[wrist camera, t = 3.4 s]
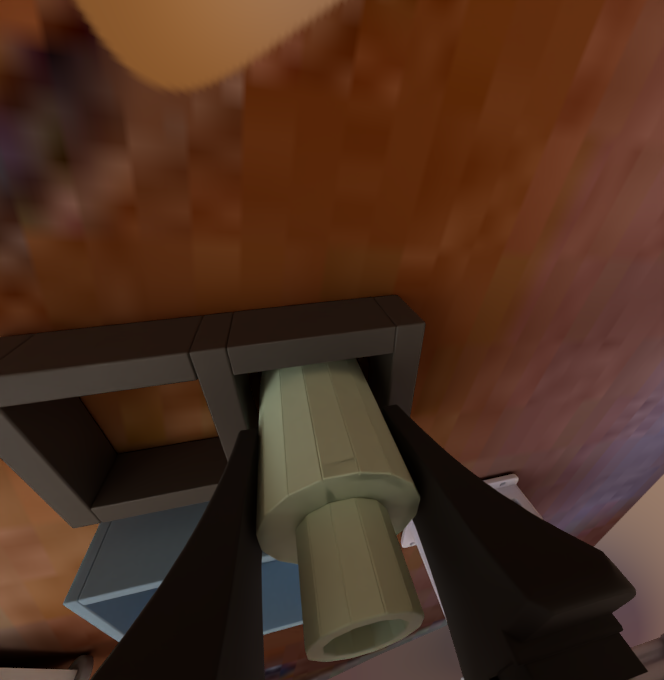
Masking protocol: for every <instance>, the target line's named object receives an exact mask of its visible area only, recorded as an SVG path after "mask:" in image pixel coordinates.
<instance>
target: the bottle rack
mask: <svg viewBox="0 0 664 680" xmlns="http://www.w3.org/2000/svg"><path fill="white" fill-rule="evenodd" d="M424 331H425V322H424V321H423V320H422V319H421V318H420V317H419V316H418V315H417V314H416V313H415V312H414V311H413V310H412V309H411V308H410V307H409V306H408V305H407V304H406V303H405V302H404V301H403V300H402V299H401V298H400V297H399V296H398V295H391V296H381V297H374V298H372V297H369V298H359V299H350V300H341V301H331V302H322V303H313V304H303V305H294V306H285V307H275V308H266V309H257V310H247V311H238V312H234V314H233V313H232V312H231V313H222V314H213V315H205V316H204V317H203V316H194V317H185V318H176V319H166V320H157V321H148V322H138V323H129V324H120V325H111V326H101V327H92V328H83V329H73V330H64V331H55V332H45V333H37V334H27V335H17V336H8V337H0V458H1V459H2V460H3V461H4V462H5V463H6V464H7V465H8V466H9V467H10V468H11V469H12V470H13V471H14V472H15V473H17V474H18V475H19V476H20V477H21V478H22V479H23V480H24V481H25V482H26V483H27V484H28V485H29V486H30V487H31V488H32V489H33V490H34V491H35V492H36V493H37V494H38V495H39V496H40V497H41V498H42V499H43V500H44V501H45V502H46V503H47V504H48V505H49V506H50V507H51V508H53V509H54V510H55V511H56V512H57V513H58V514H59V515H60V516H61V517H62V518H63V519H64V520H65V521H66V522H67V523H68V524H69V525H70V526H71V527H72V528H78V527H83V526H88V525H93V524H98V523H101V522H109V521H114V520H119V519H124V518H128V517H133V516H138V515H143V514H148V513H153V512H158V511H163V510H168V509H173V508H178V507H183V506H188V505H193V504H198V503H203V502H208V501H210V499H211V497H212V495H213V493H214V491H215V489H216V487H217V485H218V483H219V481H220V478H221V476H222V474H223V472H224V470H225V467H226V465H227V463H228V460H229V458H230V455H231V453H232V450H233V447H234V444H235V442H236V439H237V435H238V433H239V432H240V431H241V430H247V429H253V428H257V430H258V434H259V419H258V415H257V411H256V406H255V402H254V398H253V394H252V389H251V385H250V381H249V376H248V373H253V372H261V371H268V370H275V369H282V368H289V367H296V366H303V365H311V364H318V363H325V362H332V361H339V360H346V359H354V358H361V357H368V356H370V363H369V382H368V385H369V387H370V389H371V392H372V394H373V396H374V398H375V400H376V402H377V404H378V407H379V409H380V411H381V413H382V408H383V406H389V405H395V404H397V405H398V406H399V407H400V408H401V409H402V410H403V411H404V412H405V413H406V414H407V415H408V416H409V417H410V413H411V408H412V402H413V396H414V390H415V384H416V378H417V372H418V366H419V360H420V354H421V349H422V343H423V337H424ZM197 379H199V382H200V385H201V388H202V391H203V393H204V396H205V399H206V402H207V405H208V408H209V410H210V413H211V416H212V419H213V422H214V424H215V427H216V430H217V433H218V436H219V437H217V438H211V439H205V440H200V441H194V442H188V443H182V444H176V445H170V446H164V447H159V448H153V449H147V450H141V451H135V452H129V453H123V454H119V455H117V454H116V452H115V451H114V449H113V448H112V447H111V445H110V444H109V442H108V441H107V439H106V438H105V436H104V435H103V433H102V432H101V430H100V429H99V427H98V426H97V424H96V423H95V421H94V420H93V418H92V417H91V415H90V414H89V412H88V411H87V409H86V408H85V407H84V405H83V404H82V402H81V401H80V399H79V398H78V397H79V396H86V395H93V394H101V393H108V392H115V391H122V390H129V389H136V388H143V387H151V386H158V385H165V384H172V383H179V382H186V381H194V380H197Z"/></svg>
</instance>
